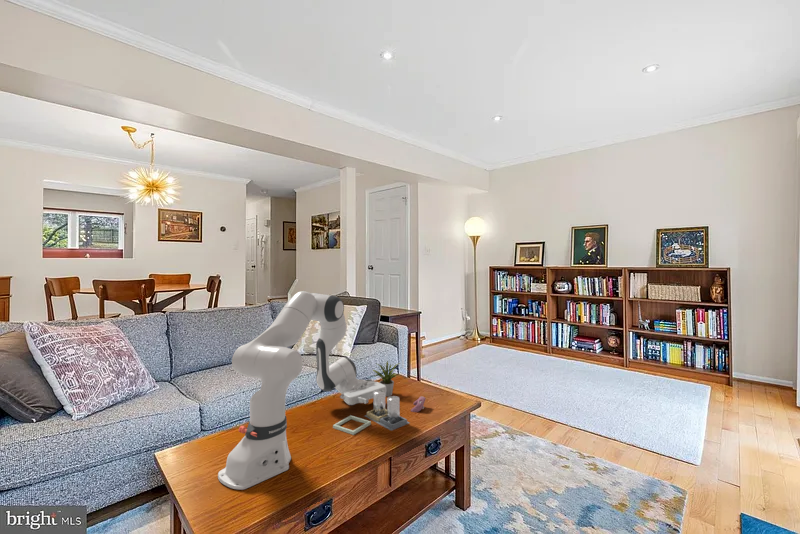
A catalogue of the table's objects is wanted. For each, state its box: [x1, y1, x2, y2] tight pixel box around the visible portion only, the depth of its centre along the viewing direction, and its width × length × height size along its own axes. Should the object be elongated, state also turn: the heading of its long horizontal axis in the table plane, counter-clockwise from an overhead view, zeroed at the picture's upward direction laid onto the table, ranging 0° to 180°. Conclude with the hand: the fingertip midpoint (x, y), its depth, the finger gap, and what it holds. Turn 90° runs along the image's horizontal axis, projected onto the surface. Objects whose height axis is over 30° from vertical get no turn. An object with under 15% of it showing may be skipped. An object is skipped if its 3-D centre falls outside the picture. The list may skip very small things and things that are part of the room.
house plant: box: [372, 360, 401, 397], centre depth 183 cm, size 14×14×16 cm
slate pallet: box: [364, 408, 411, 432], centre depth 151 cm, size 18×10×3 cm, turn 41°
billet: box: [386, 395, 401, 424], centre depth 147 cm, size 5×5×10 cm
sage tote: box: [332, 415, 372, 436], centre depth 145 cm, size 11×11×2 cm
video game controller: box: [410, 395, 426, 413], centre depth 162 cm, size 10×5×7 cm, turn 169°
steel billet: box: [372, 390, 386, 417], centre depth 154 cm, size 5×5×10 cm
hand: (376, 398), depth 156 cm, fingers open, 8 cm apart
